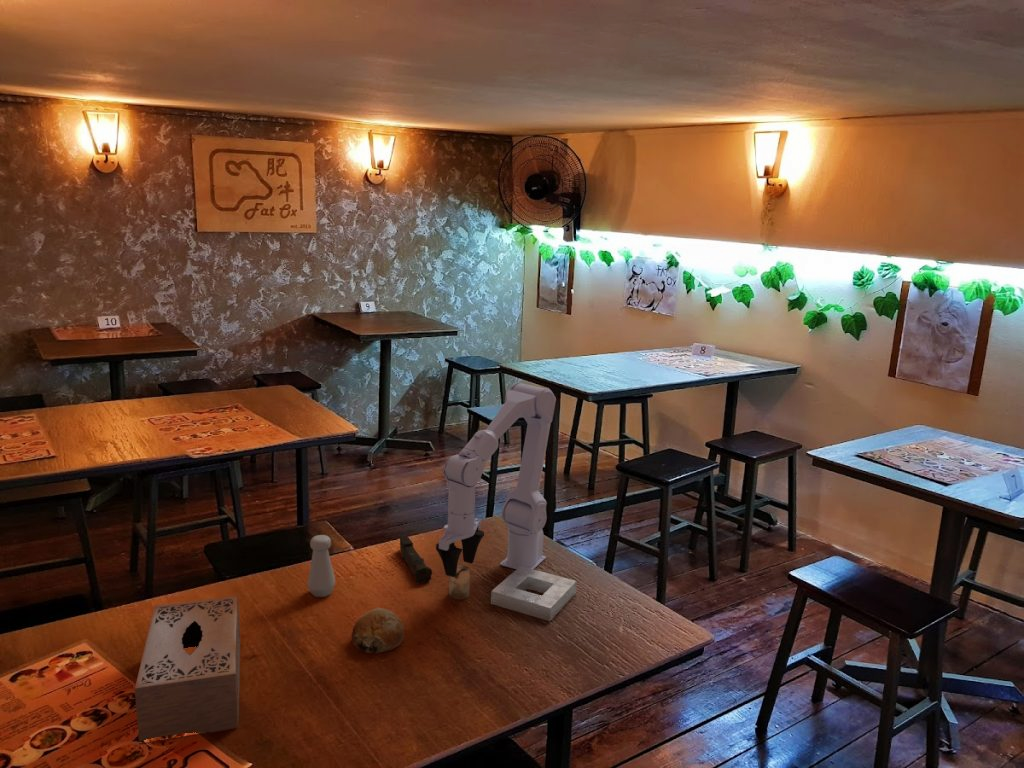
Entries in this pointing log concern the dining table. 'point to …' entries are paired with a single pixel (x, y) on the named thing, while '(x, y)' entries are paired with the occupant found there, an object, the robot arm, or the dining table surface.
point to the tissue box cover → (190, 669)
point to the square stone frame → (520, 600)
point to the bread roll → (377, 631)
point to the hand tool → (414, 561)
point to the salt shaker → (321, 567)
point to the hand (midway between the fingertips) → (459, 568)
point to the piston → (460, 583)
